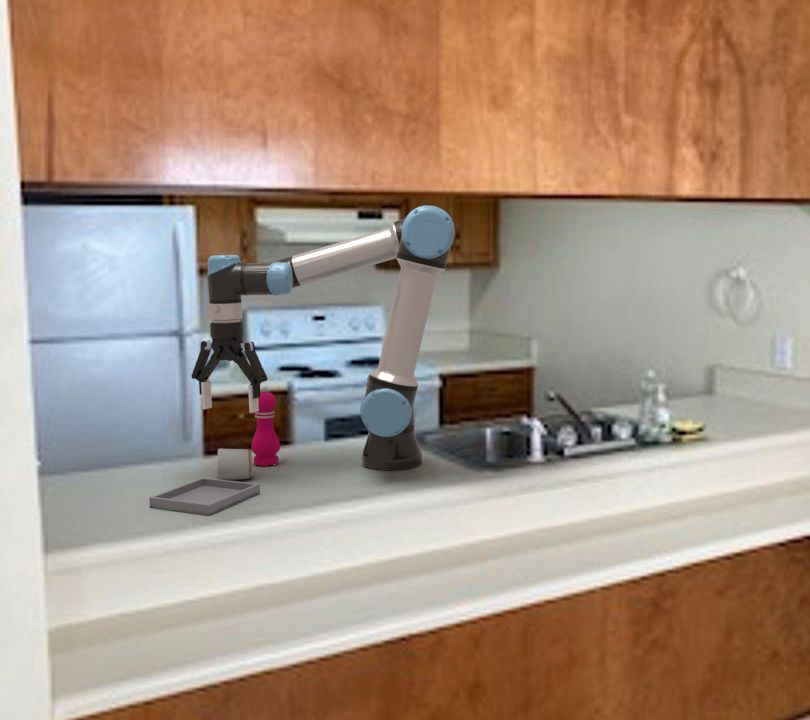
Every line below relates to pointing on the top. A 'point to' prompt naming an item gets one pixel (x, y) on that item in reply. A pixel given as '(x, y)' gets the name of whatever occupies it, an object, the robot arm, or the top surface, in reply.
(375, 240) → the robot arm
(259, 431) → the pepper mill
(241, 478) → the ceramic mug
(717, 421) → the top surface
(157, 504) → the grey tray
